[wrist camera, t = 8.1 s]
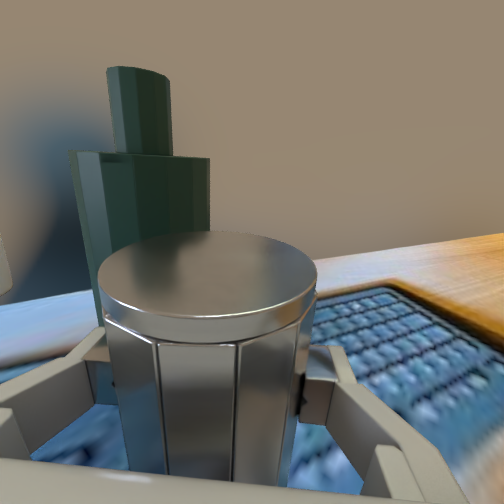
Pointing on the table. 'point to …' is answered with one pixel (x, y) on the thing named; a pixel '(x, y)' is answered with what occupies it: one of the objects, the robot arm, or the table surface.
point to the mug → (4, 271)
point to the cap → (209, 352)
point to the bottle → (137, 174)
